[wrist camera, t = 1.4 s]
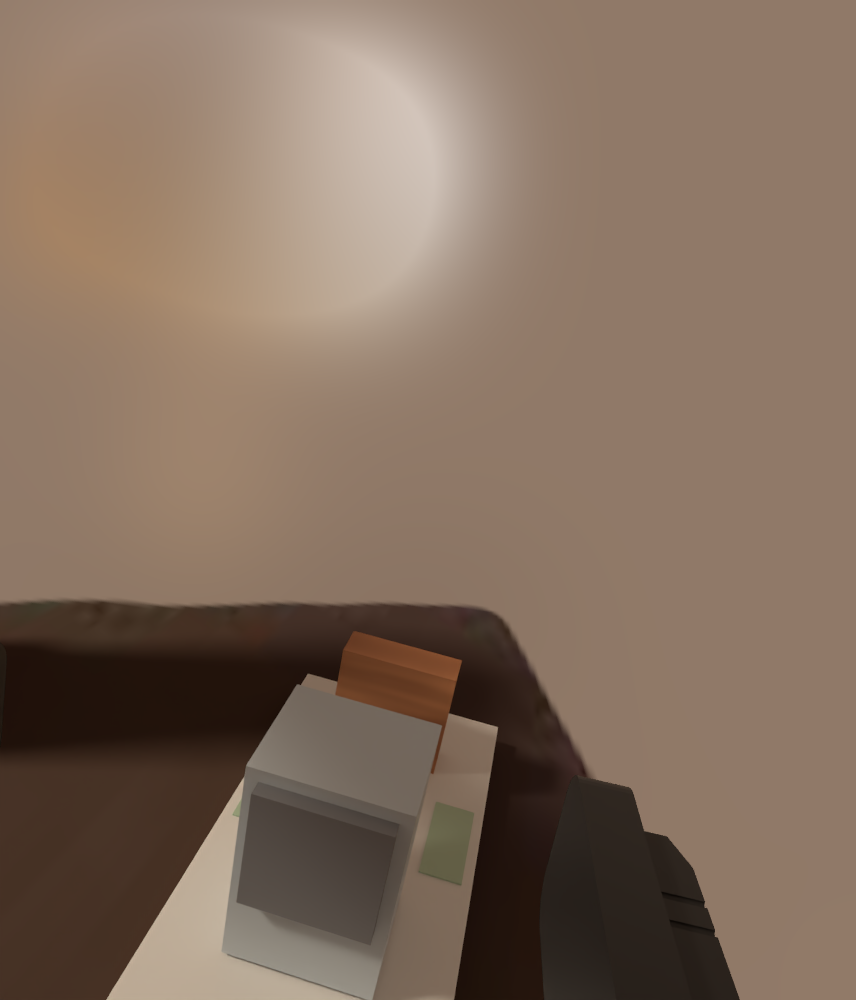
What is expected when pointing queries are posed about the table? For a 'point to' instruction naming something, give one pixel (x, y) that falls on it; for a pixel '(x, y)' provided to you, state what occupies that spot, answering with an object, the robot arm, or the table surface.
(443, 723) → the block
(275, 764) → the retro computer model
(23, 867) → the table surface
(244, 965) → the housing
